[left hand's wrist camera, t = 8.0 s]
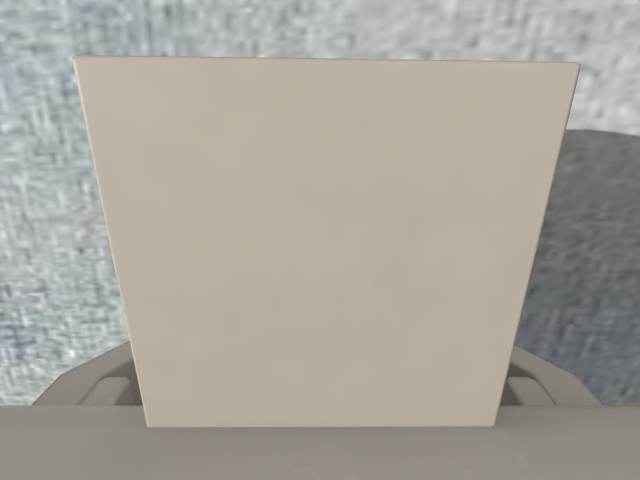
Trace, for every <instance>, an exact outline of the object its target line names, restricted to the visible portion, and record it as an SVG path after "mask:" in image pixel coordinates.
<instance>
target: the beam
mask: <svg viewBox="0 0 640 480" xmlns="http://www.w3.org/2000/svg"><path fill="white" fill-rule="evenodd" d="M72 61H73V66H74V71H75V76H76V81H77V86H78V91H79V95H80V100H81V105H82V110H83V115H84V120H85V125H86V130H87V135H88V139H89V144H90V149H91V154H92V159H93V164H94V169H95V174H96V178H97V183H98V188H99V193H100V198H101V203H102V208H103V213H104V217H105V222H106V227H107V232H108V237H109V242H110V247H111V252H112V256H113V261H114V266H115V271H116V276H117V281H118V286H119V291H120V295H121V300H122V305H123V310H124V315H125V320H126V325H127V330H128V334H129V339H130V344H131V349H132V354H133V359H134V364H135V369H136V373H137V378H138V383H139V388H140V393H141V398H142V403H143V408H144V412H145V417H146V422H147V427H440V426H495V424H496V420H497V415H498V411H499V407H500V403H501V399H502V394H503V390H504V386H505V382H506V378H507V373H508V369H509V365H510V361H511V357H512V352H513V348H514V344H515V340H516V336H517V332H518V327H519V323H520V319H521V315H522V311H523V306H524V302H525V298H526V294H527V290H528V285H529V281H530V277H531V273H532V269H533V264H534V260H535V256H536V252H537V248H538V243H539V239H540V235H541V231H542V227H543V223H544V218H545V214H546V210H547V206H548V202H549V197H550V193H551V189H552V185H553V181H554V176H555V172H556V168H557V164H558V160H559V155H560V151H561V147H562V143H563V139H564V134H565V130H566V126H567V122H568V118H569V114H570V109H571V105H572V101H573V97H574V93H575V88H576V84H577V80H578V76H579V72H580V64H579V63H576V62H542V61H468V60H394V59H319V58H245V57H171V56H97V55H77V56H75V57H73V60H72Z"/></svg>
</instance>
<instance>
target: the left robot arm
mask: <svg viewBox="0 0 640 480" xmlns="http://www.w3.org/2000/svg"><path fill="white" fill-rule="evenodd" d="M0 480H640V406H604V405H603V404H602V403H601V402H600V401H599V400H598V399H597V397H596V396H595V395H594V394H593V393H592V392H591V391H590V390H589V389H588V388H587V387H586V386H585V385H584V384H583V383H582V382H581V380H580V379H579V378H578V377H577V376H575V375H573V374H571V373H569V372H567V371H565V370H563V369H561V368H559V367H557V366H555V365H553V364H551V363H549V362H547V361H545V360H543V359H541V358H540V357H538V356H536V355H534V354H532V353H530V352H528V351H526V350H524V349H522V348H520V347H518V346H516V345H514V348H513V352H512V357H511V361H510V365H509V369H508V373H507V378H506V382H505V386H504V390H503V394H502V399H501V403H500V407H499V411H498V415H497V420H496V424H495V426H440V427H147V422H146V417H145V412H144V408H143V403H142V398H141V393H140V388H139V383H138V378H137V373H136V369H135V364H134V359H133V354H132V349H131V344H130V341H128V342H126V343H124V344H122V345H120V346H118V347H116V348H114V349H112V350H110V351H108V352H106V353H104V354H102V355H100V356H98V357H96V358H94V359H92V360H90V361H88V362H86V363H84V364H82V365H80V366H78V367H76V368H74V369H72V370H70V371H68V372H66V373H64V374H62V375H60V376H59V377H58V378H57V379H56V380H55V381H54V382H53V383H52V384H51V385H50V386H49V387H48V388H47V389H46V391H45V392H44V393H43V394H42V395H41V396H40V397H39V398H38V399H37V400H36V401H35V402H34V403H33V404H32V405H31V406H0Z"/></svg>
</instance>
